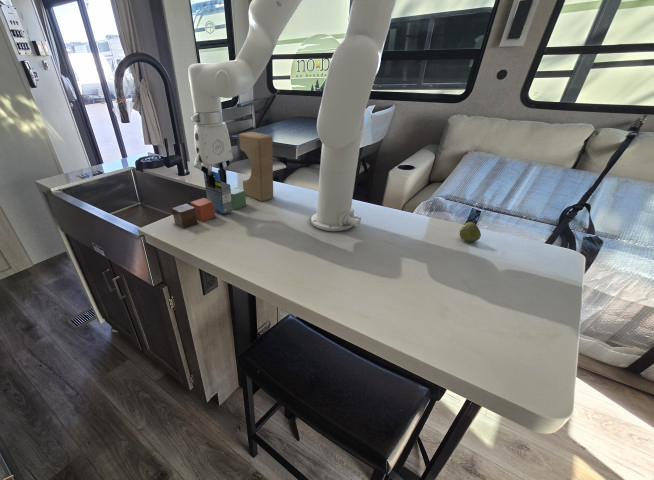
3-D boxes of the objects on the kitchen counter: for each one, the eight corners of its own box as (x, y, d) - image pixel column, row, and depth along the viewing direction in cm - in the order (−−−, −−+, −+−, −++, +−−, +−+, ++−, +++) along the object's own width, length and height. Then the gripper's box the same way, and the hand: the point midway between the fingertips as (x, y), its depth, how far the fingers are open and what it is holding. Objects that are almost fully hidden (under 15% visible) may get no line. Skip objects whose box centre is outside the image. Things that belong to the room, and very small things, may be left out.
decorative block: (242, 194, 114) (238, 133, 102) (255, 190, 116) (252, 131, 104) (261, 202, 107) (258, 138, 95) (274, 198, 109) (273, 135, 97)
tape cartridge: (233, 210, 99) (230, 170, 92) (223, 214, 97) (219, 173, 90) (216, 204, 105) (212, 165, 98) (206, 207, 103) (202, 168, 95)
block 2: (215, 216, 98) (212, 201, 95) (201, 221, 96) (199, 206, 93) (206, 212, 101) (203, 197, 98) (193, 217, 99) (190, 202, 96)
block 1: (197, 223, 95) (194, 207, 92) (183, 228, 92) (180, 212, 89) (189, 218, 98) (186, 203, 95) (175, 223, 95) (171, 208, 92)
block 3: (246, 205, 105) (245, 190, 102) (234, 209, 102) (233, 194, 99) (237, 201, 108) (235, 187, 105) (225, 205, 105) (224, 191, 102)
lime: (458, 235, 82) (465, 217, 79) (479, 240, 80) (487, 222, 77) (454, 241, 80) (461, 223, 77) (475, 247, 77) (483, 228, 74)
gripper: (190, 124, 79) (201, 195, 90) (240, 115, 88) (245, 181, 99) (175, 121, 84) (188, 189, 95) (224, 113, 92) (231, 176, 103)
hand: (217, 184), depth 97 cm, fingers closed on tape cartridge, 3 cm apart
